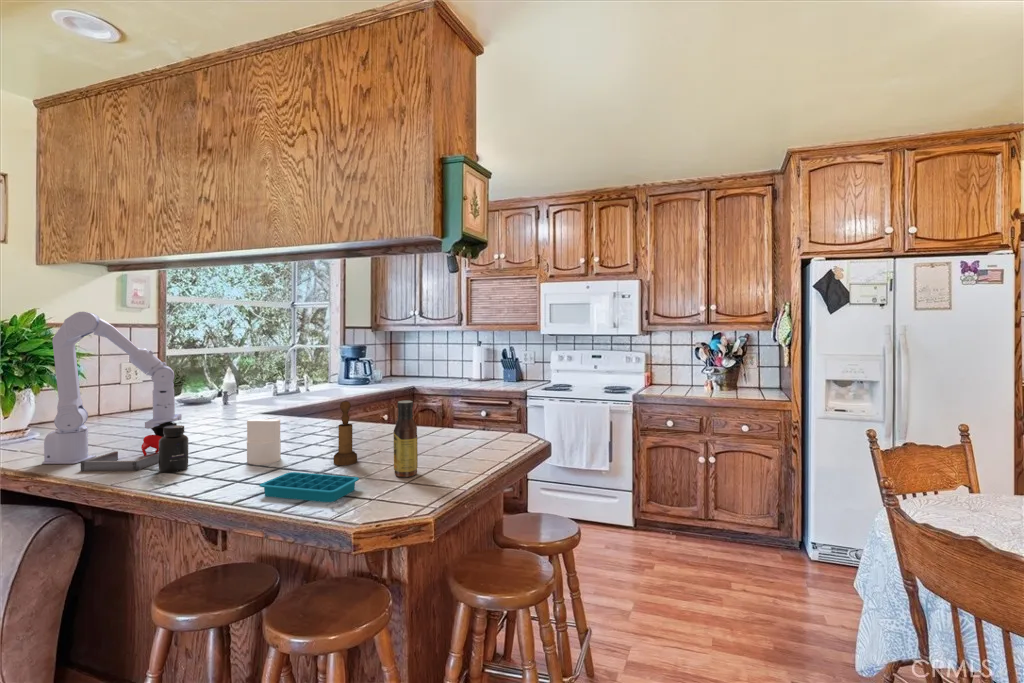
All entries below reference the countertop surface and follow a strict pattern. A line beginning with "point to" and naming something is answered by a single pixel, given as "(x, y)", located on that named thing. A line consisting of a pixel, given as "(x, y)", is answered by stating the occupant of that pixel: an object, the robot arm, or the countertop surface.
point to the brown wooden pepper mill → (345, 439)
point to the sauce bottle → (405, 441)
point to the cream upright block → (263, 441)
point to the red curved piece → (150, 443)
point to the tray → (117, 463)
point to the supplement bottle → (173, 450)
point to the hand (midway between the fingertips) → (164, 446)
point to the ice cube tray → (309, 486)
